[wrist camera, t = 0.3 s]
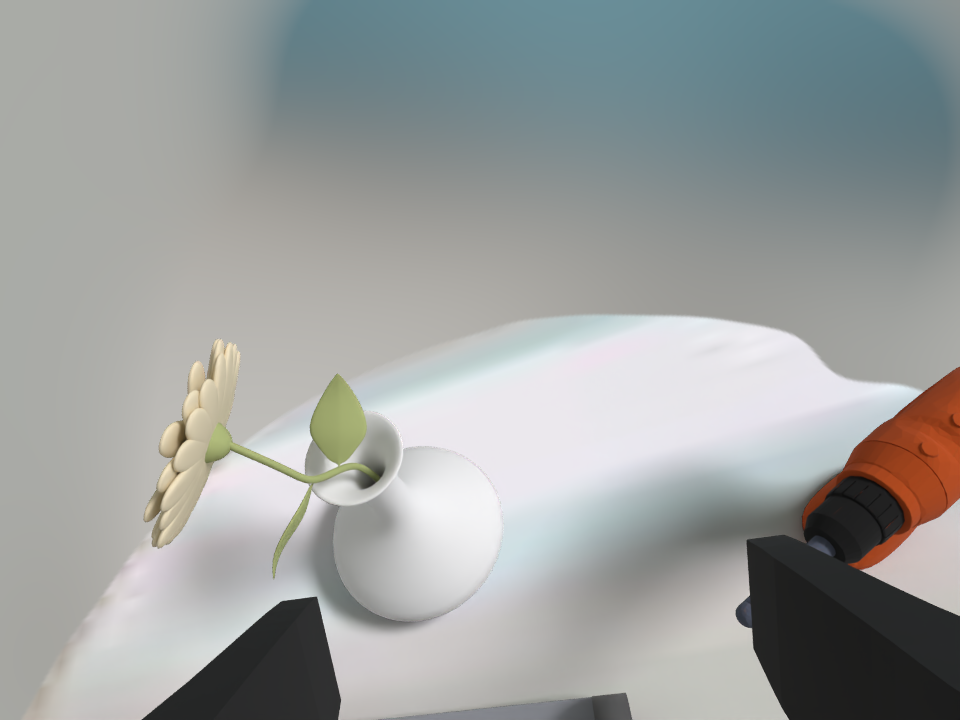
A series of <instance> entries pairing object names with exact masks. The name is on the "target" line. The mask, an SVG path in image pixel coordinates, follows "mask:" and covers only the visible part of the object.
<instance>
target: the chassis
mask: <svg viewBox="0 0 960 720" xmlns="http://www.w3.org/2000/svg"><path fill="white" fill-rule="evenodd" d="M380 720H632V717H631V712H630V707H629V703H628V698H627V695H626V693H620V694H611V695H601V696H592V697H588V698H579V699H569V700H560V701H550V702H541V703H531V704H522V705H512V706H503V707H493V708H484V709H474V710H465V711H455V712H446V713H437V714H427V715H418V716H408V717H399V718H389V719H380Z"/></svg>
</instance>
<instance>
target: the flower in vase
mask: <svg viewBox="0 0 960 720" xmlns="http://www.w3.org/2000/svg"><path fill="white" fill-rule="evenodd" d="M239 365H240V352H239V351H237V347H236V344H233V345H232V343H231V342H229V343H228V344H227V346H226V349H225V348H224V344H223V341H222V340H221V339H216V340H215V342H214V344H213V347H212V350H211V355H210V361H209V368H208V373H207V379H206V380H205V372H204V368H203V365H202V364H201V362H199V361H196V362H195V363H194V364H193V365H192V368H191V370H190V373H189V376H188V395H187V397H186V399H185V401H184V404H183V408H182V418H183V420H182V421H176V422H174V423H172V424H170V425H169V426H168V427H167V428H166V429H165V431H164V433H163V435H162V437H161V440H160V443H159V452H160V454H161V455H162V456H164V457H167V458H172V457H174V458H173V459H172V460H171V461H170V462H169V463H168V464H167V465H166V467H165V468H164V469H163V471H162V473H161V475H160V477H159V480H158V482H157V487H156V489H157V490H156V491H155V493H154V495H153V496H152V498H151V499H150V501H149V503H148V505H147V507H146V510H145V513H144V521H145V522H149V521H151V520H152V519H153V518H154V517H155V516H156V515H157V514H158V513H159V512H160V511H161V513H160V515H159V517H158V519H157V521H156V524H155V526H154V528H153V531H152V538H153V540H152V546H153V547H158V549H159V548H162V547H163V546H164V545H165V544H166V545H168V544H170V543H171V542H172V541H173V539H174V538H175V537H176V536H177V535H178V534H179V533H180V532H181V530H182V529H183V527H184V526H185V524H186V522H187V520H188V518H189V517H190V514H191V512H192V511H193V509H194V507H195V505H196V503H197V501H198V499H199V497H200V495H201V492H202V490H203V488H204V486H205V484H206V481H207V479H208V476H209V473H210V471H211V468H212V465H213V463H214V461H217V460H220V459H222V458H224V457H225V456H226V455H227V454H228V453H229V452H230V450H231V451H234V452H236V453H238V454H241V455H243V456H245V457H248V458H250V459H252V460H255V461H257V462H259V463H262V464H264V465H266V466H268V467H271V468H273V469H275V470H277V471H279V472H282V473H284V474H286V475H288V476H290V477H292V478H294V479H296V480H298V481H301V482H304V483H308V484H309V486H310V487H309V489H308V491H307V493H306V495H305V497H304V499H303V501H302V503H301V504H300V506H299V508H298V510H297V511H296V513H295V515H294V516H293V518H292V520H291V521H290V523H289V525H288V526H287V528H286V530H285V531H284V533H283V535H282V537H281V539H280V541H279V543H278V545H277V548H276V551H275V553H274V558H273V567H272V568H273V578H274V577H275V570H276V566H277V562H278V559H279V557H280V554H281V552H282V550H283V548H284V547H285V545H286V543H287V542H288V540H289V539H290V537H291V536H292V534H293V533H294V531H295V530H296V528H297V527H298V525H299V524H300V522H301V520H302V518H303V516H304V514H305V512H306V509H307V506H308V502H309V498H310V494H311V490H312V491H313V492H314V493H315V494H316V495H317V496H318V497H319V498H320V499H322V500H323V501H325V502H327V503H329V504H333V505H337V506H339V509H338V512H337V515H336V519H335V524H334V531H333V549H334V558H335V563H336V567H337V570H338V573H339V576H340V578H341V580H342V582H343V584H344V586H345V587H346V588H347V590H348V591H349V593H350V594H351V595H352V596H353V597H354V598H355V599H356V601H357V602H358V603H360V604H361V605H362V606H364V607H365V608H366V609H367V610H369V611H371V612H373V613H375V614H377V615H379V616H382V617H384V618H387V619H391V620H396V621H406V622H414V621H424V620H428V619H432V618H436V617H439V616H441V615H444V614H446V613H448V612H450V611H452V610H454V609H456V608H457V607H459V606H460V605H462V604H463V603H464V602H466V601H467V600H468V599H469V598H470V597H471V596H473V595H474V594H475V593H476V592H477V591H478V589H479V588H480V587H481V586H482V585H483V583H484V582H485V581H486V579H487V578H488V576H489V575H490V573H491V571H492V569H493V567H494V565H495V563H496V561H497V558H498V555H499V552H500V549H501V544H502V539H503V528H504V521H503V511H502V507H501V502H500V499H499V496H498V494H497V491H496V489H495V487H494V485H493V484H492V482H491V480H490V479H489V478H488V476H487V475H486V474H485V473H484V471H483V470H482V469H481V468H480V467H479V466H478V465H476V464H475V463H474V462H472V461H471V460H470V459H468V458H466V457H465V456H463V455H461V454H458V453H456V452H454V451H450V450H447V449H443V448H437V447H429V446H425V447H411V448H406V449H403V442H402V438H401V435H400V433H399V430H398V429H397V427H396V426H395V425H394V423H393V422H392V421H391V420H389V419H388V418H387V417H385V416H383V415H381V414H379V413H376V412H372V411H363V410H362V407H361V405H360V403H359V401H358V399H357V398H356V396H355V394H354V393H353V391H352V390H351V388H350V387H349V385H348V384H347V383H346V382H345V380H344V379H343V378H342V377H341V376H340V375H339V374H336V375H335V377H334V378H333V379H332V381H331V382H330V384H329V385H328V387H327V389H326V390H325V392H324V394H323V395H322V397H321V399H320V401H319V403H318V405H317V407H316V409H315V411H314V413H313V416H312V419H311V423H310V433H311V436H312V438H313V441H312V442H311V444H310V446H309V449H308V452H307V455H306V459H305V474H306V475H304V474H301V473H299V472H297V471H295V470H293V469H291V468H289V467H287V466H284V465H282V464H280V463H278V462H276V461H274V460H271V459H269V458H267V457H265V456H263V455H260V454H258V453H256V452H253V451H251V450H249V449H247V448H244V447H242V446H240V445H238V444H235V443H233V442H232V437H231V435H230V433H229V432H228V430H227V429H226V423H227V421H228V419H229V416H230V413H231V409H232V405H233V400H234V395H235V389H236V384H237V377H238V372H239Z"/></svg>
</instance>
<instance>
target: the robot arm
mask: <svg viewBox="0 0 960 720" xmlns="http://www.w3.org/2000/svg"><path fill="white" fill-rule="evenodd" d="M747 555H748V571H749V586H750V602H751V617H752V633H753V648H754V651H755V653H756V655H757V657H758V659H759V661H760V663H761V666H762V668H763V670H764V672H765V674H766V676H767V678H768V681H769V683H770V685H771V687H772V689H773V691H774V693H775V695H776V697H777V699H778V701H779V703H780V705H781V707H782V709H783V710H784V712H785V714H786V715H787V717H788V718H789V720H960V616H958V615H956V614H953V613H951V612H949V611H946V610H944V609H942V608H939V607H937V606H935V605H933V604H930V603H928V602H926V601H924V600H921V599H919V598H917V597H915V596H913V595H910V594H908V593H906V592H904V591H902V590H900V589H898V588H895V587H893V586H891V585H889V584H887V583H885V582H883V581H881V580H879V579H877V578H875V577H873V576H870V575H868V574H866V573H864V572H862V571H860V570H858V569H856V568H854V567H852V566H850V565H848V564H846V563H844V562H842V561H840V560H838V559H836V558H834V557H832V556H830V555H828V554H826V553H824V552H822V551H819V550H817V549H815V548H813V547H811V546H809V545H807V544H805V543H803V542H800V541H798V540H796V539H793V538H791V537H788V536H786V535H779V536H771V537H764V538H756V539H749V540H747ZM340 703H341V698H340V694H339V689H338V685H337V681H336V676H335V672H334V668H333V663H332V659H331V655H330V650H329V646H328V642H327V638H326V633H325V629H324V625H323V620H322V616H321V612H320V607H319V603H318V599H317V597H310V598H302V599H295V600H287V601H282V602H280V603H279V604H277V605H276V606H275V607H273V608H272V609H271V610H270V611H268V612H267V613H266V614H265V615H264V616H262V617H261V618H260V619H259V620H258V621H257V622H255V623H254V624H253V625H252V626H251V627H250V628H249V629H248V630H246V631H245V632H244V633H243V634H242V635H241V636H240V637H238V638H237V639H236V640H235V641H234V642H233V643H232V644H231V645H229V646H228V647H227V648H226V649H225V650H224V651H223V652H222V653H220V654H219V655H218V656H217V657H216V658H215V659H214V660H212V661H211V662H210V663H209V664H208V665H207V666H206V667H204V668H203V669H202V670H201V671H200V672H199V673H198V674H196V675H195V676H194V677H193V678H192V679H191V680H190V681H188V682H187V683H186V684H185V685H184V686H182V687H181V688H180V689H179V690H177V691H176V692H175V693H174V694H173V695H171V696H170V697H169V698H168V699H166V700H165V701H164V702H163V703H162V704H160V705H159V706H158V707H157V708H155V709H154V710H153V711H152V712H151V713H149V714H148V715H147V716H146V717H144V718H143V719H142V720H338V716H339V710H340Z"/></svg>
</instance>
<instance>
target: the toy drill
mask: <svg viewBox="0 0 960 720" xmlns="http://www.w3.org/2000/svg"><path fill="white" fill-rule="evenodd" d="M959 498H960V367H958V368H956V369H955V370H953V371H952V372H950V373H949V374H948V375H946V376H945V377H943V378H942V379H941V380H940V381H938V382H937V383H936V384H934V385H933V386H931V387H930V388H928V389H927V390H926V391H924V392H923V393H922V394H921V395H919V396H918V397H917V398H916V399H914V400H913V401H912V402H911V403H909V404H908V405H907V406H905V407H904V408H903V409H902V410H901V411H900V412H899V413H897V414H896V415H895V416H894V417H893V418H892V419H890V420H888V421H886V422H884V423H883V424H881V425H880V426H879V427H877V428H876V429H875V430H874V431H873V432H872V433H871V434H870V435H868V436H867V437H866V438H865V439H864V440H863V441H862V442H861V443H859V444H858V445H857V446H856V447H855V448H854V450H853V451H852V453H851V455H850V457H849V459H848V461H847V463H846V465H845V467H844V469H843V471H842V472H841V473H840V474H838V475H837V476H836V477H834V478H833V479H832V480H831V481H830V482H828V483H827V484H826V485H825V486H824V487H823V488H822V489H821V490H819V491H818V492H817V494H816V495H815V496H814V497H813V498H812V499H811V500H810V502H809V503H808V504H807V506H806V507H805V509H804V513H803V516H802V525H803V530H804V537H805V539H806V541H807V543H806V544H807V545H809V546H811V547H813V548H815V549H817V550H819V551H822V552H824V553H826V554H828V555H830V556H832V557H834V558H836V559H838V560H840V561H842V562H844V563H846V564H848V565H850V566H852V567H854V568H856V569H858V570H861V569H865V568H869V567H872V566H873V565H875V564H877V563H879V562H880V561H882V560H883V559H885V558H886V557H887V556H888V555H890V554H891V553H892V552H893V551H894V550H895V549H896V548H898V547H899V546H900V545H901V544H902V543H903V542H904V541H905V540H906V539H907V538H908V537H909V535H910V534H911V533H912V532H913V531H914V529H915V528H916V527H917V526H919V525H921V524H924V523H926V522H929V521H931V520H933V519H936V518H938V517H940V516H941V515H942V514H943V513H944V512H945V511H946V510H947V509H948V508H950V507H951V506H952V505H953V504H954V503H955V502H956V501H957V500H958V499H959ZM736 617H737V620H738V621H739V622H740V623H741V624H742V625H743V626H745V627H748V628H752V617H751V602H750V596H749V597H748V598H747V599H746V600H745V601H744V602H742V603H741V604H740V605H739V606H738V607H737V609H736Z"/></svg>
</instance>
